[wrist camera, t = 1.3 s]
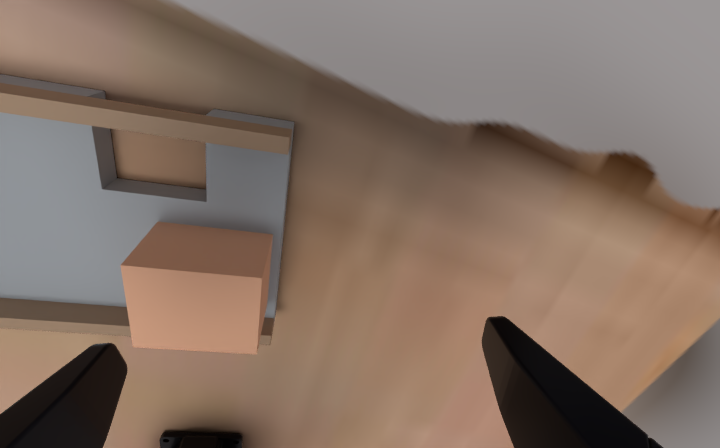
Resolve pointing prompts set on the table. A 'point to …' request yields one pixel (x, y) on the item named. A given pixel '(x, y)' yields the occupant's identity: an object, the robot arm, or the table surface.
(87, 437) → the robot arm
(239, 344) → the terracotta block
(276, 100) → the table surface
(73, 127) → the box
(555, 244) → the table surface
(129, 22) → the table surface
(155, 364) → the table surface
